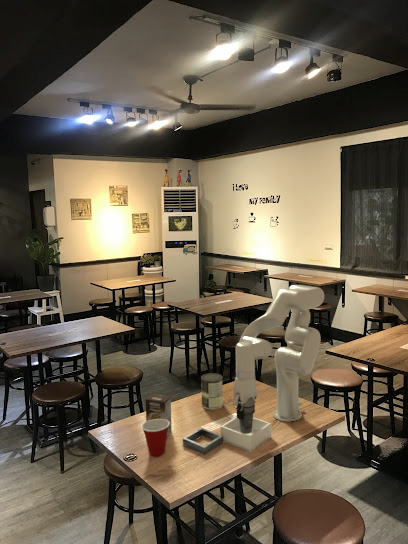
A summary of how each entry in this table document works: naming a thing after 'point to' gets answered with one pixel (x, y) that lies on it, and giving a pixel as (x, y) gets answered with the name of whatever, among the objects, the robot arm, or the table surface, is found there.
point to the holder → (190, 443)
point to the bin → (246, 441)
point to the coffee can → (212, 391)
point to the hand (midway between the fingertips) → (245, 415)
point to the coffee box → (159, 408)
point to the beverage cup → (247, 416)
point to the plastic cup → (156, 436)
